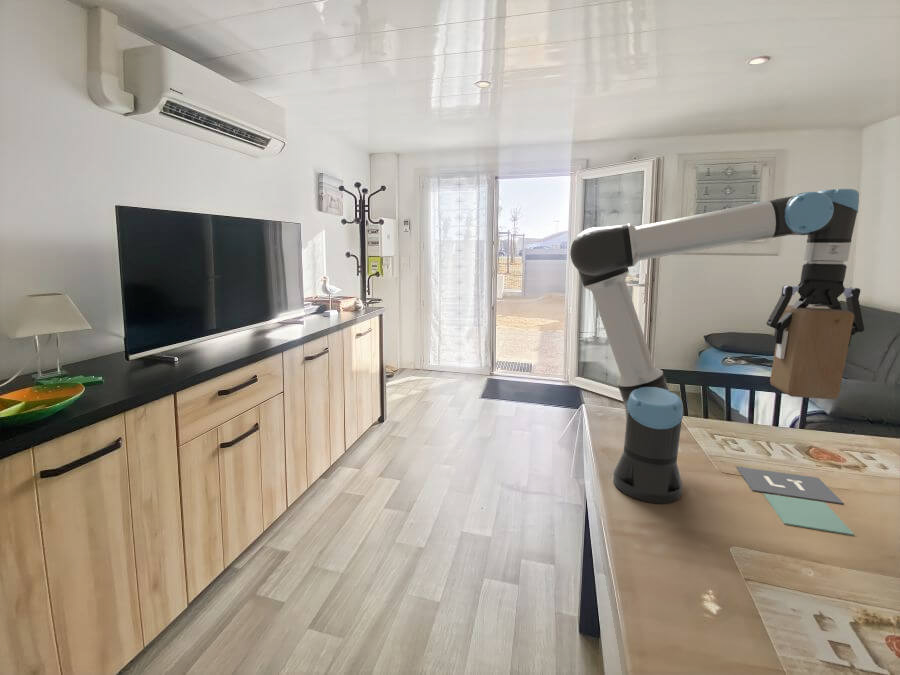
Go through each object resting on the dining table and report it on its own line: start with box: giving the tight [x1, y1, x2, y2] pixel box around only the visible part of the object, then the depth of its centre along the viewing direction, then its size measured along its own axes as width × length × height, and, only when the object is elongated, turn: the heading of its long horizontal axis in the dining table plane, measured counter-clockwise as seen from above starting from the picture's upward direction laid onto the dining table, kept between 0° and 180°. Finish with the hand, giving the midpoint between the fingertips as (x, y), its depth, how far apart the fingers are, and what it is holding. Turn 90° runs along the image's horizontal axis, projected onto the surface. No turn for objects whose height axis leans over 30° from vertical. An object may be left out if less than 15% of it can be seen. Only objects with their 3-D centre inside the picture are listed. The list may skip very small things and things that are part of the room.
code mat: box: [736, 466, 845, 505], centre depth 108 cm, size 18×12×1 cm, turn 72°
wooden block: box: [769, 304, 854, 400], centre depth 101 cm, size 10×10×20 cm
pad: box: [762, 492, 855, 536], centre depth 96 cm, size 12×12×1 cm
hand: (807, 359), depth 101 cm, fingers closed on wooden block, 10 cm apart
